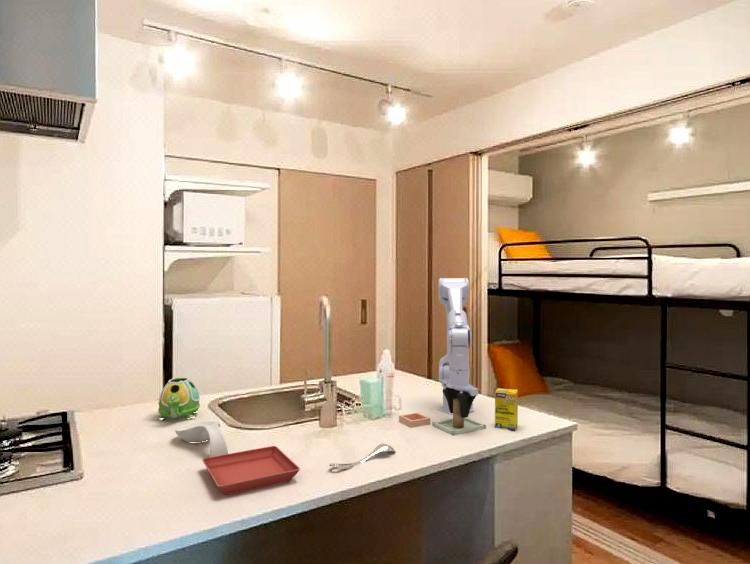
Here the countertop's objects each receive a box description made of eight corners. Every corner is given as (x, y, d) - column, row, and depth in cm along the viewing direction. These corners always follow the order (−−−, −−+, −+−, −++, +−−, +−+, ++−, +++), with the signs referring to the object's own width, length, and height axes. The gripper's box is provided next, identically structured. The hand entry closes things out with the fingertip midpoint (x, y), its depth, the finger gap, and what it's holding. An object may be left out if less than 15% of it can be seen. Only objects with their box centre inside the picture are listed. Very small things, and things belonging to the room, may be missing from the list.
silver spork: (336, 459, 116) (324, 453, 120) (335, 474, 116) (324, 468, 120) (400, 444, 129) (387, 439, 133) (399, 458, 129) (387, 453, 133)
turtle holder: (149, 428, 150) (148, 388, 150) (164, 411, 168) (163, 375, 168) (192, 426, 152) (192, 387, 152) (203, 409, 170) (202, 374, 170)
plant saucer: (201, 471, 119) (201, 457, 119) (275, 457, 128) (275, 444, 128) (218, 502, 104) (218, 486, 103) (301, 483, 112) (301, 469, 112)
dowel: (459, 423, 151) (460, 397, 151) (465, 427, 149) (466, 400, 148) (450, 425, 150) (451, 398, 150) (456, 428, 147) (457, 401, 147)
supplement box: (494, 428, 149) (494, 391, 149) (497, 423, 155) (497, 387, 154) (515, 431, 147) (515, 393, 147) (517, 425, 152) (518, 389, 152)
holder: (417, 419, 158) (417, 412, 158) (430, 425, 152) (430, 418, 152) (399, 422, 155) (399, 415, 155) (411, 428, 149) (411, 421, 149)
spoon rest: (170, 438, 142) (169, 413, 142) (212, 430, 149) (211, 406, 149) (196, 464, 123) (196, 435, 123) (243, 454, 130) (242, 426, 130)
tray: (463, 420, 157) (463, 416, 157) (486, 429, 148) (486, 425, 148) (432, 426, 151) (432, 422, 151) (453, 436, 142) (453, 431, 142)
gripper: (433, 366, 153) (433, 410, 154) (464, 374, 141) (464, 423, 141) (451, 363, 157) (451, 407, 157) (483, 372, 144) (483, 419, 145)
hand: (459, 414), depth 149 cm, fingers open, 5 cm apart
